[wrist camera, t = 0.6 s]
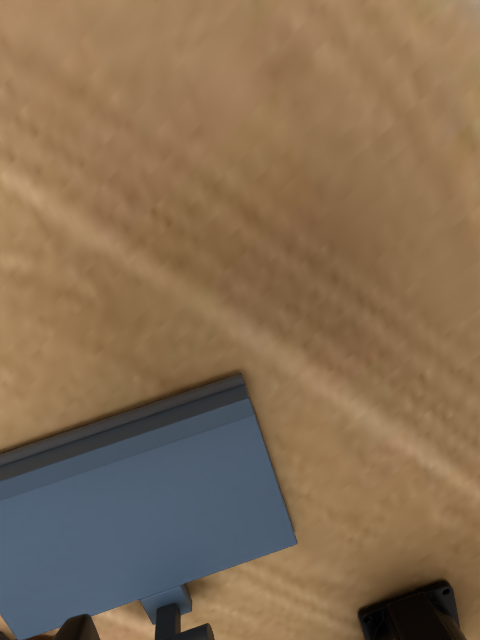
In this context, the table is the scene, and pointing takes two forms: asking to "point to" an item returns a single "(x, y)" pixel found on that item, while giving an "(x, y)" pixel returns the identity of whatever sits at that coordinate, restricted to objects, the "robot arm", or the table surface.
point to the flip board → (137, 511)
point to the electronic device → (3, 637)
